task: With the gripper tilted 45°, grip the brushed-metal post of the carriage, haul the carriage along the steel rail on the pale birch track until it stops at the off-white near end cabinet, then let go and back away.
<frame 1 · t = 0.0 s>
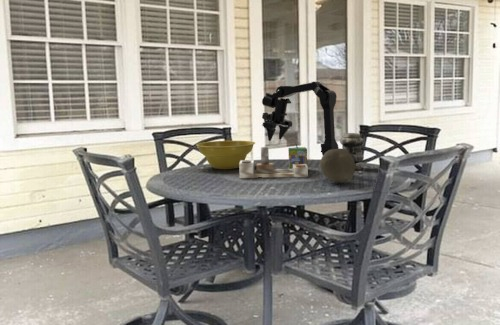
hand: (274, 139, 263), 15 cm above the table, tool pointing down, fingers open, 9 cm apart
planter bowl: (226, 168, 279), on the table
apothecary jar: (351, 169, 261), on the table
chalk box: (298, 170, 261), on the table
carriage: (264, 158, 244), point 8 cm above the table, slide at 9.0 cm
rail track: (273, 175, 245), on the table
cantaloupe: (337, 184, 218), on the table
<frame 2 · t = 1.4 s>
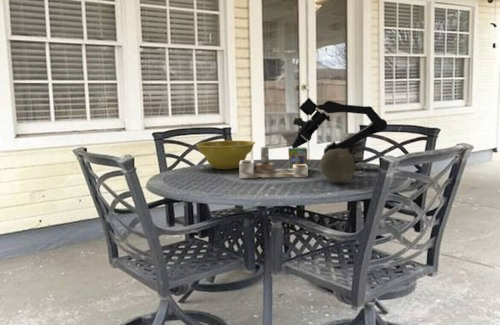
hand: (292, 147, 243), 13 cm above the table, tool tilted 45°, fingers open, 9 cm apart
nothing on the table moved.
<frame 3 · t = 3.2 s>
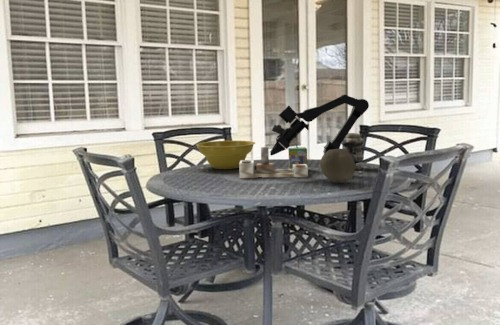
hand: (270, 153, 244), 11 cm above the table, tool tilted 45°, fingers open, 9 cm apart
nothing on the table moved.
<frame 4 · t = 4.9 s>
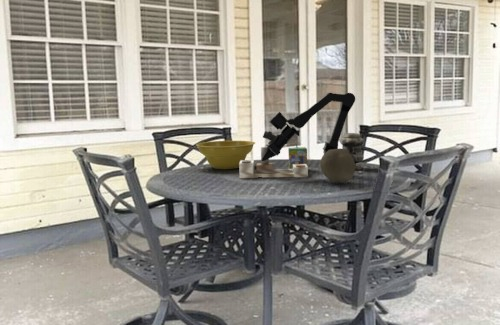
hand: (262, 160, 244), 8 cm above the table, tool tilted 45°, fingers closed on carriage, 4 cm apart
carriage: (264, 158, 244), point 8 cm above the table, slide at 9.0 cm, touching gripper
everything else where it was.
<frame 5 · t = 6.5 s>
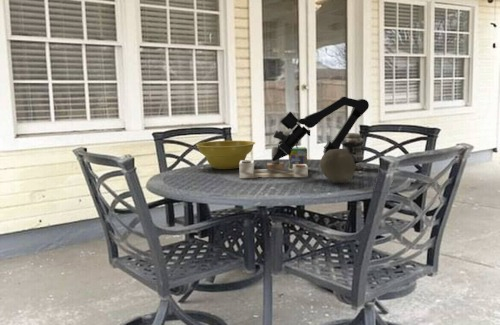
hand: (272, 160, 244), 8 cm above the table, tool tilted 45°, fingers closed on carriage, 4 cm apart
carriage: (275, 157, 244), point 8 cm above the table, slide at 3.9 cm, touching gripper
everything else where it was.
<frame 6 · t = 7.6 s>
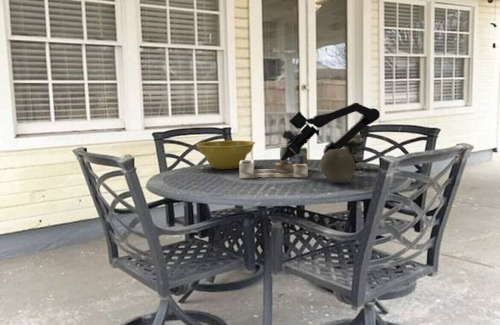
hand: (281, 159, 244), 8 cm above the table, tool tilted 45°, fingers closed on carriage, 4 cm apart
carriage: (283, 157, 244), point 8 cm above the table, slide at 0.0 cm, touching gripper
everything else where it was.
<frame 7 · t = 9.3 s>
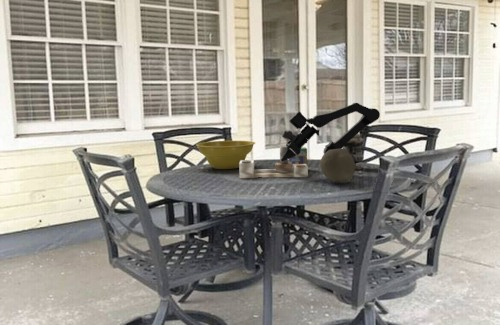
hand: (281, 159, 244), 8 cm above the table, tool tilted 45°, fingers open, 9 cm apart
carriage: (283, 157, 244), point 8 cm above the table, slide at 0.0 cm
everything else where it was.
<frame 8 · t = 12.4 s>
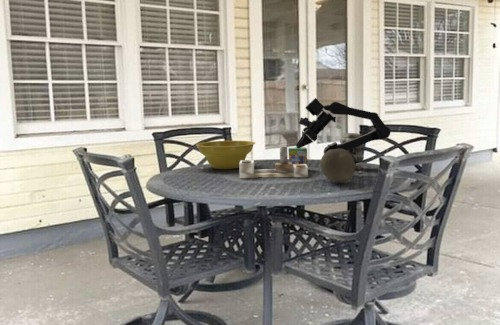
hand: (297, 146, 243), 14 cm above the table, tool tilted 45°, fingers open, 9 cm apart
nothing on the table moved.
at the end: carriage slide at 0.0 cm; the gripper is holding nothing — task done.
